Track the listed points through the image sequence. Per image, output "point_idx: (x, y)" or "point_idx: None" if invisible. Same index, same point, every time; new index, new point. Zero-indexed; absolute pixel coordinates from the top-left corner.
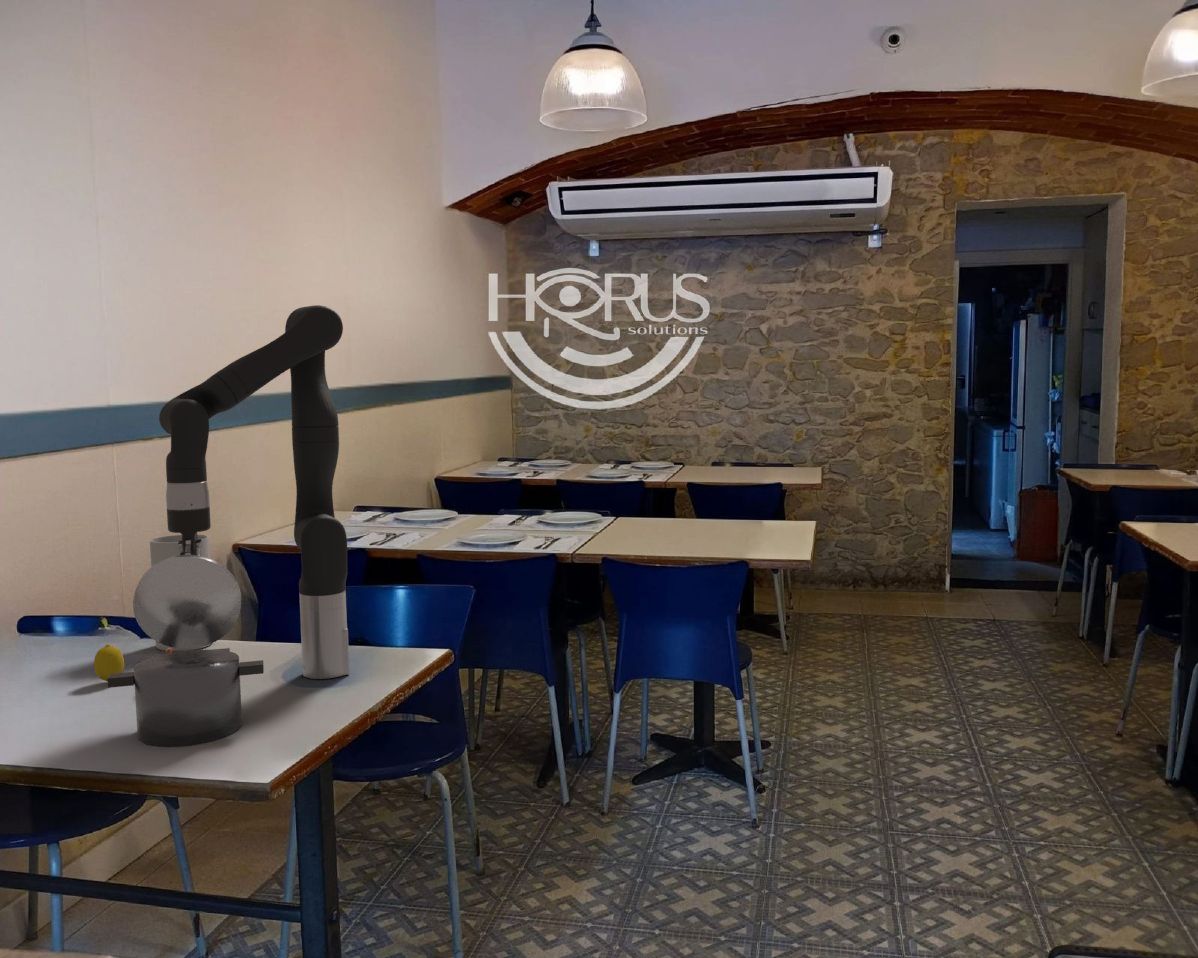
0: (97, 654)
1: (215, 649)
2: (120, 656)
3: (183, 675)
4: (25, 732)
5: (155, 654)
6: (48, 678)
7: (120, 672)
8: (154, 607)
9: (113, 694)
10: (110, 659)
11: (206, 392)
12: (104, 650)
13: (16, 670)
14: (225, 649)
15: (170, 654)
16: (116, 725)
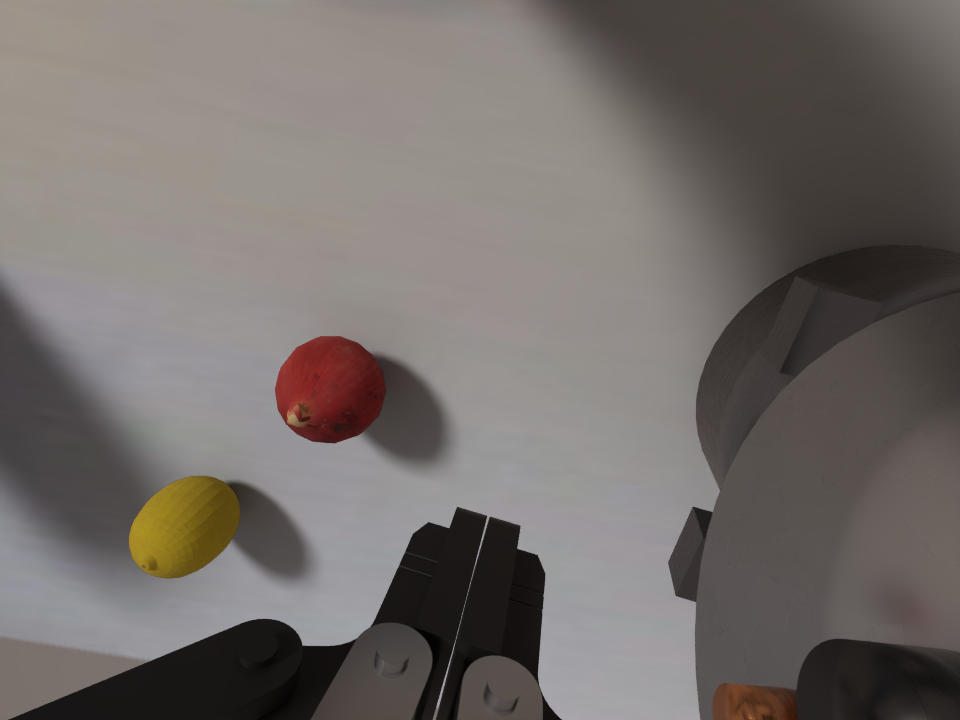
0: (180, 576)
1: (790, 358)
2: (188, 512)
3: None
4: (570, 704)
5: (682, 590)
6: (124, 592)
7: (223, 486)
8: None
9: (345, 503)
10: (210, 540)
11: None
12: (175, 569)
13: (29, 630)
14: (833, 314)
15: None
16: (656, 552)
